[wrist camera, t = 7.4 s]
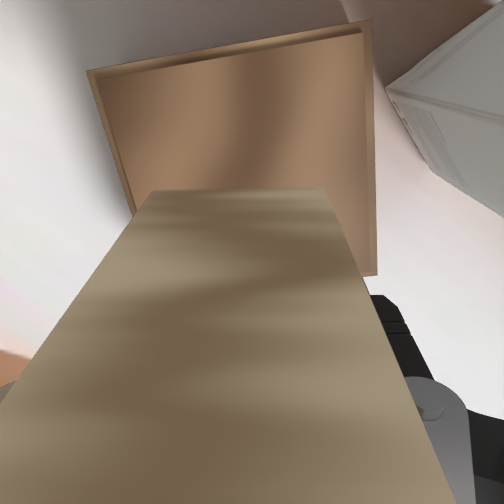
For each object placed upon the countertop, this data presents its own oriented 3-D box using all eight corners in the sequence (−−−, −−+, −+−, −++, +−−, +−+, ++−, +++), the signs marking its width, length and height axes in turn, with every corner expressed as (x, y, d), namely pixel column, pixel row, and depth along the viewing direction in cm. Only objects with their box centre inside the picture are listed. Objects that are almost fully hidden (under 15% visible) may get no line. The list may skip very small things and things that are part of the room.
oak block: (326, 185, 12) (522, 635, 3) (317, 327, 14) (411, 813, 5) (150, 188, 12) (-172, 627, 3) (170, 328, 14) (22, 803, 5)
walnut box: (348, 23, 21) (373, 19, 16) (357, 234, 26) (378, 277, 22) (121, 64, 22) (84, 71, 17) (176, 259, 27) (158, 304, 23)
